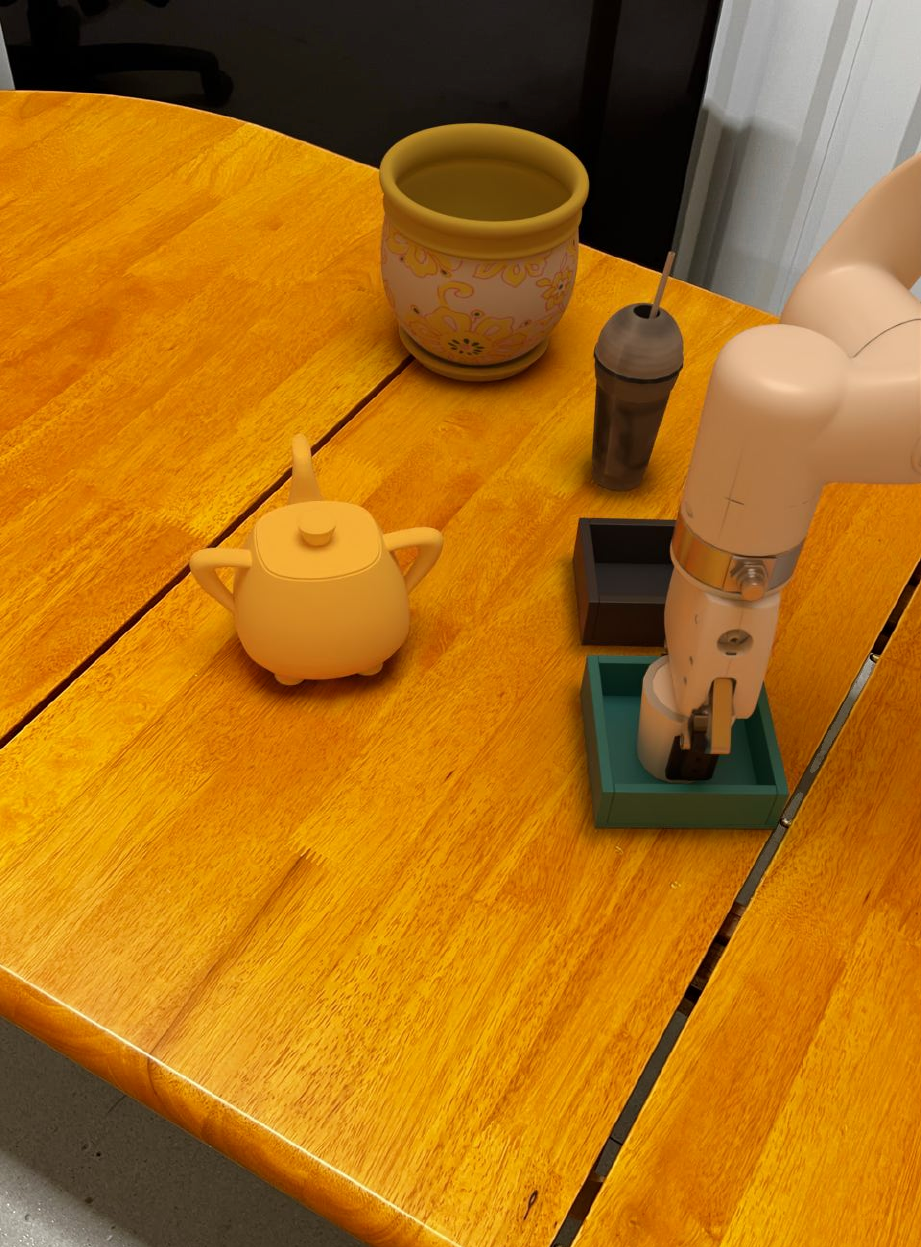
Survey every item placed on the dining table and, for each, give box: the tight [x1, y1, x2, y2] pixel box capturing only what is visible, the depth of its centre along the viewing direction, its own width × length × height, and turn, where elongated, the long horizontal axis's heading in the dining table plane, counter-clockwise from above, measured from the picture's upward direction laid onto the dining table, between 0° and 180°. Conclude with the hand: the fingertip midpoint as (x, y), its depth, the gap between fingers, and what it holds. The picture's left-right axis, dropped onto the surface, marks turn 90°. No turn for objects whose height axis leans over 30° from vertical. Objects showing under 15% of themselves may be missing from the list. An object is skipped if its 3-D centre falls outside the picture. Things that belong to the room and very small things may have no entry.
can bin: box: [571, 517, 676, 647], centre depth 98 cm, size 10×10×4 cm
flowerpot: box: [378, 122, 590, 383], centre depth 114 cm, size 18×18×16 cm
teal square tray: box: [579, 654, 790, 830], centre depth 89 cm, size 13×13×4 cm
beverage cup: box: [591, 251, 685, 492], centre depth 102 cm, size 7×7×20 cm
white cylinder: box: [637, 655, 736, 784], centre depth 87 cm, size 7×7×7 cm
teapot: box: [188, 433, 445, 686], centre depth 92 cm, size 14×14×12 cm
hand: (681, 733), depth 89 cm, fingers closed on white cylinder, 6 cm apart
